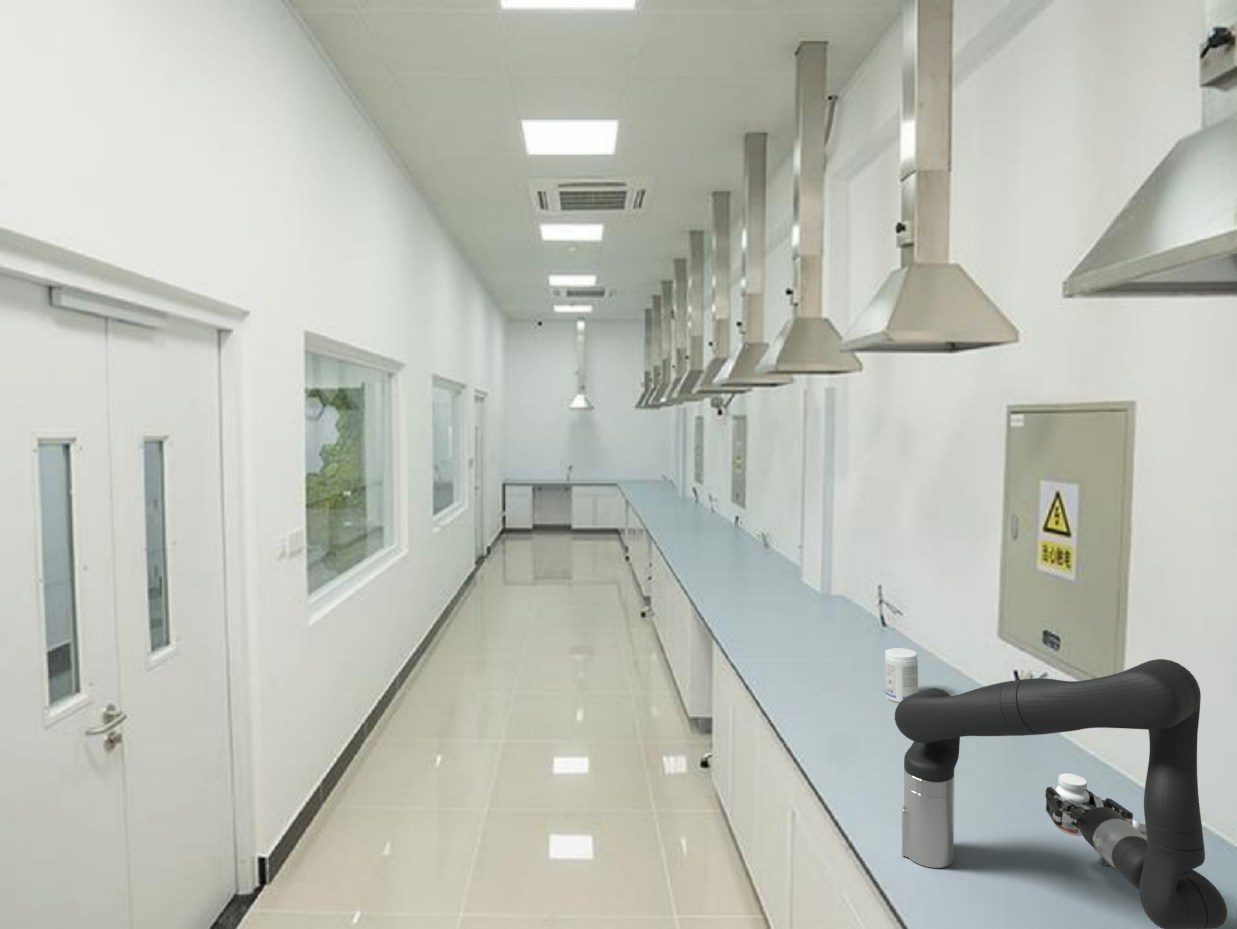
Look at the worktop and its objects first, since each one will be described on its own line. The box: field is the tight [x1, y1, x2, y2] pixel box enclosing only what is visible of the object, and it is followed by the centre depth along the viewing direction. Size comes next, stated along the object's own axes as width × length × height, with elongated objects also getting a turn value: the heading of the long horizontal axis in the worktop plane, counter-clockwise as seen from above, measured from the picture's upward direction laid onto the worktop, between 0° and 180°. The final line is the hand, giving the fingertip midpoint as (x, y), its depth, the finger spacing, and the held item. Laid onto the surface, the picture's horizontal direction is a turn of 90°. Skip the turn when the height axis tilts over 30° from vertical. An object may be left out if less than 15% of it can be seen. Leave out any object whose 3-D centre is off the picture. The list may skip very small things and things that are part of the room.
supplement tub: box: [884, 647, 919, 704], centre depth 231 cm, size 10×10×15 cm
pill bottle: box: [1054, 772, 1090, 837], centre depth 143 cm, size 6×6×10 cm
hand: (1065, 791), depth 146 cm, fingers closed on pill bottle, 5 cm apart
